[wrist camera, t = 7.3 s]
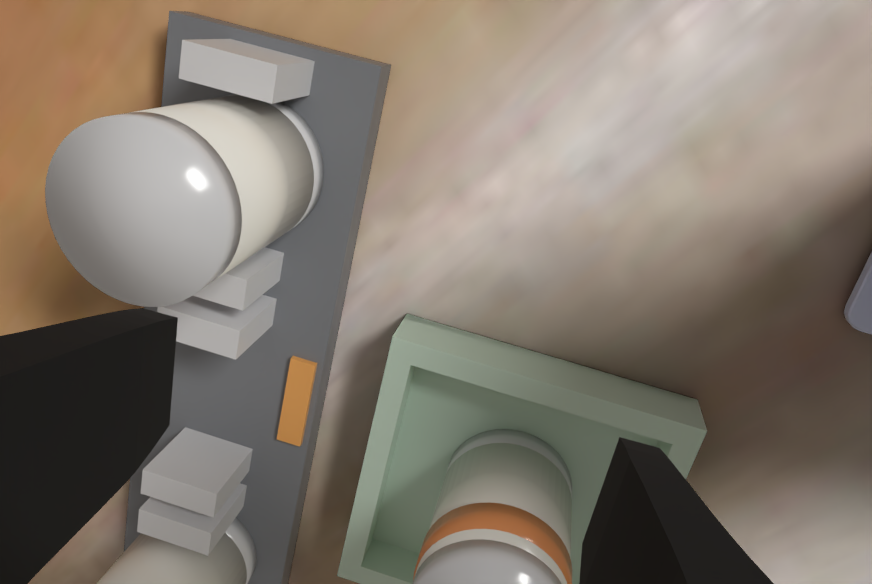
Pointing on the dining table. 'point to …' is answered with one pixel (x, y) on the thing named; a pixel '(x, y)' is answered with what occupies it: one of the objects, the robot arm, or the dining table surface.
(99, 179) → the fuse
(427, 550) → the cylinder
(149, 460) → the fuse holder
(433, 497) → the tray
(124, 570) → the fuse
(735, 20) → the dining table surface
